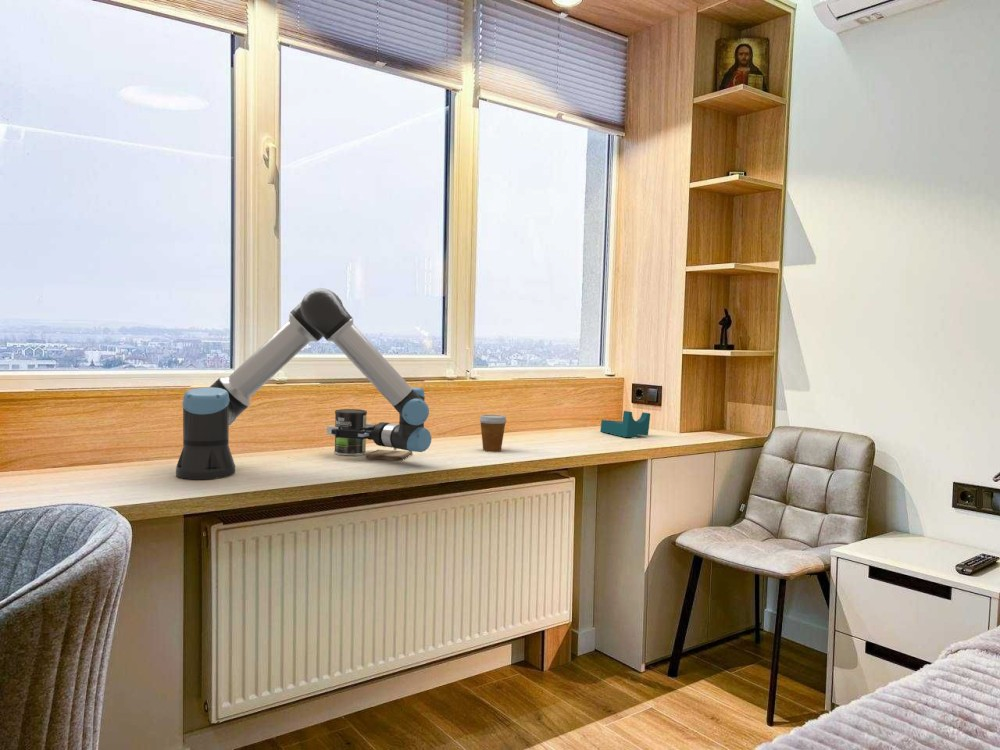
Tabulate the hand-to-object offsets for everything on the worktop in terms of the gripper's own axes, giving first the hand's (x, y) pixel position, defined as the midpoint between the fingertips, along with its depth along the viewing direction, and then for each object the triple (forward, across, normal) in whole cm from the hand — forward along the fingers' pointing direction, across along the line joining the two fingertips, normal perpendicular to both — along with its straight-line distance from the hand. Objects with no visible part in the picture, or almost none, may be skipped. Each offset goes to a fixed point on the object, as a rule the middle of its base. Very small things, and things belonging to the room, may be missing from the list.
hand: (343, 428), depth 247 cm
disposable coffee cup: (-32, +40, -8) cm, 51 cm away
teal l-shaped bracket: (-44, +112, -8) cm, 120 cm away
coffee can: (-3, 0, -8) cm, 9 cm away
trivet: (-17, +5, -8) cm, 19 cm away
